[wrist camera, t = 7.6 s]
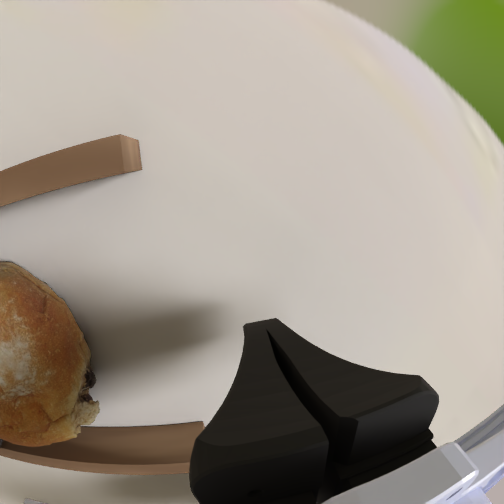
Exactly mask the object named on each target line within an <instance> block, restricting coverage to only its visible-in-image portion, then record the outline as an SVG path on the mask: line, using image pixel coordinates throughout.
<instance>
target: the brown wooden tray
mask: <svg viewBox="0 0 504 504" xmlns="http://www.w3.org/2000/svg"><path fill="white" fill-rule="evenodd" d="M138 170H142V165H141V157H140V149H139V140H136V139H133V138H130V137H127V136H124V135H120V134H119V135H115V136H110V137H106V138H102V139H98V140H94V141H91V142H87V143H83V144H80V145H76V146H72V147H69V148H66V149H62V150H59V151H56V152H53V153H50V154H47V155H44V156H41V157H38V158H35V159H32V160H29V161H26V162H24V163H21V164H18V165H16V166H13V167H10V168H8V169H5V170H3V171H0V207H1V206H4V205H7V204H10V203H13V202H16V201H19V200H22V199H26V198H29V197H32V196H35V195H39V194H42V193H46V192H49V191H53V190H56V189H60V188H64V187H68V186H71V185H75V184H79V183H83V182H87V181H91V180H96V179H100V178H104V177H109V176H113V175H118V174H123V173H128V172H133V171H138ZM204 428H205V426H204V424H203V421H202V422H193V423H184V424H173V425H161V426H144V427H80V429H81V433H78V434H77V437H76V438H72V439H70V440H67V441H62V442H56V443H52V444H50V445H44V446H39V447H29V446H22V445H16V444H12V443H10V442H8V441H5V440H3V442H2V444H1V447H0V455H1V456H4V457H8V458H12V459H15V460H19V461H24V462H28V463H33V464H38V465H43V466H48V467H54V468H60V469H67V470H74V471H83V472H93V473H106V474H128V475H157V474H180V473H189V468H190V459H191V454H192V450H193V446H194V442H195V439H196V438H197V436H198V435H199V434H200V433H201V432H202V431H203V430H204Z"/></svg>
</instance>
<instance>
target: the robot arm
mask: <svg viewBox="0 0 504 504" xmlns="http://www.w3.org/2000/svg"><path fill="white" fill-rule="evenodd" d="M243 329H244V336H245V337H244V346H243V352H242V357H241V361H240V364H239V368H238V371H237V374H236V377H235V379H234V382H233V384H232V386H231V388H230V391H229V393H228V395H227V397H226V398H225V400H224V402H223V404H222V405H221V407H220V408H219V410H218V411H217V413H216V414H215V416H214V417H213V419H212V420H211V421H210V423H209V424H208V425H207V426H206V427H205V428H204V430H203V431H202V432H201V433H200V434H199V435H198V436H197V438H196V439H195V442H194V446H193V450H192V454H191V459H190V468H189V478H190V488H191V491H192V493H193V495H194V496H195V498H196V499H197V500H198V502H199V503H200V504H492V503H491V502H490V500H489V499H488V497H487V496H486V495H485V493H486V492H487V491H489V490H490V489H491V488H492V487H493V486H494V485H495V484H497V482H499V481H500V480H501V479H502V478H503V477H504V404H503V405H502V406H501V407H500V408H498V409H497V410H496V411H495V412H494V413H492V414H491V415H490V416H489V417H487V418H486V419H485V420H483V421H482V422H481V423H479V424H478V425H477V426H475V427H474V428H473V429H471V430H470V431H468V432H467V433H466V434H464V435H463V436H461V437H460V438H458V439H457V440H455V441H454V442H450V443H446V444H444V445H442V446H440V447H438V448H437V447H436V445H435V444H434V443H433V442H432V440H431V439H433V437H434V436H433V433H432V432H431V431H430V430H429V426H430V424H431V421H432V419H433V417H434V415H435V413H436V410H437V407H438V404H439V395H438V394H437V393H436V391H435V390H434V389H433V388H432V387H431V386H430V385H429V384H428V383H427V382H426V381H425V380H424V379H423V378H422V377H421V376H419V375H408V374H397V373H390V372H385V371H380V370H375V369H371V368H367V367H364V366H361V365H357V364H354V363H351V362H349V361H346V360H343V359H341V358H339V357H336V356H334V355H332V354H330V353H328V352H326V351H324V350H322V349H320V348H318V347H317V346H315V345H313V344H312V343H310V342H308V341H307V340H305V339H304V338H302V337H301V336H299V335H298V334H297V333H295V332H294V331H293V330H291V329H290V328H289V327H287V326H286V325H285V324H283V323H282V322H281V321H280V320H278V319H277V318H274V319H269V320H263V321H258V322H253V323H247V324H245V325H244V326H243ZM24 504H47V503H43V502H39V501H36V500H32V499H29V498H25V501H24Z"/></svg>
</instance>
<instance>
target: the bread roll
mask: <svg viewBox="0 0 504 504" xmlns="http://www.w3.org/2000/svg"><path fill="white" fill-rule="evenodd" d="M90 359H91V351H90V349H89V347H88V345H87V343H86V341H85V339H84V334H83V332H81V331H80V328H79V326H78V325H77V323H76V322H75V319H74V317H73V315H72V313H71V311H70V310H69V308H68V306H67V305H66V303H65V301H64V300H63V299H62V298H59V297H58V296H57V295H56V294H55V292H54V291H52V289H50V287H49V286H48V285H47V284H46V283H45V282H42V281H41V280H39V279H37V278H36V277H34V276H33V275H32V274H31V273H29V272H28V271H26V270H25V269H23V268H21V267H20V266H18V265H16V264H14V263H12V262H0V439H3V440H5V441H8V442H10V443H12V444H16V445H22V446H29V447H39V446H44V445H50V444H52V443H56V442H62V441H67V440H70V439H72V438H76V437H77V434H78V433H81V429H80V425H90V424H91V423H92V422H93V421H94V420H95V418H96V416H97V414H98V413H99V411H100V409H99V402H98V400H97V401H96V402H95V401H93V400H92V397H91V396H90V395H89V393H88V392H89V388H92V387H93V386H94V384H95V383H96V377H95V375H94V373H93V372H92V368H91V366H90Z"/></svg>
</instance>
